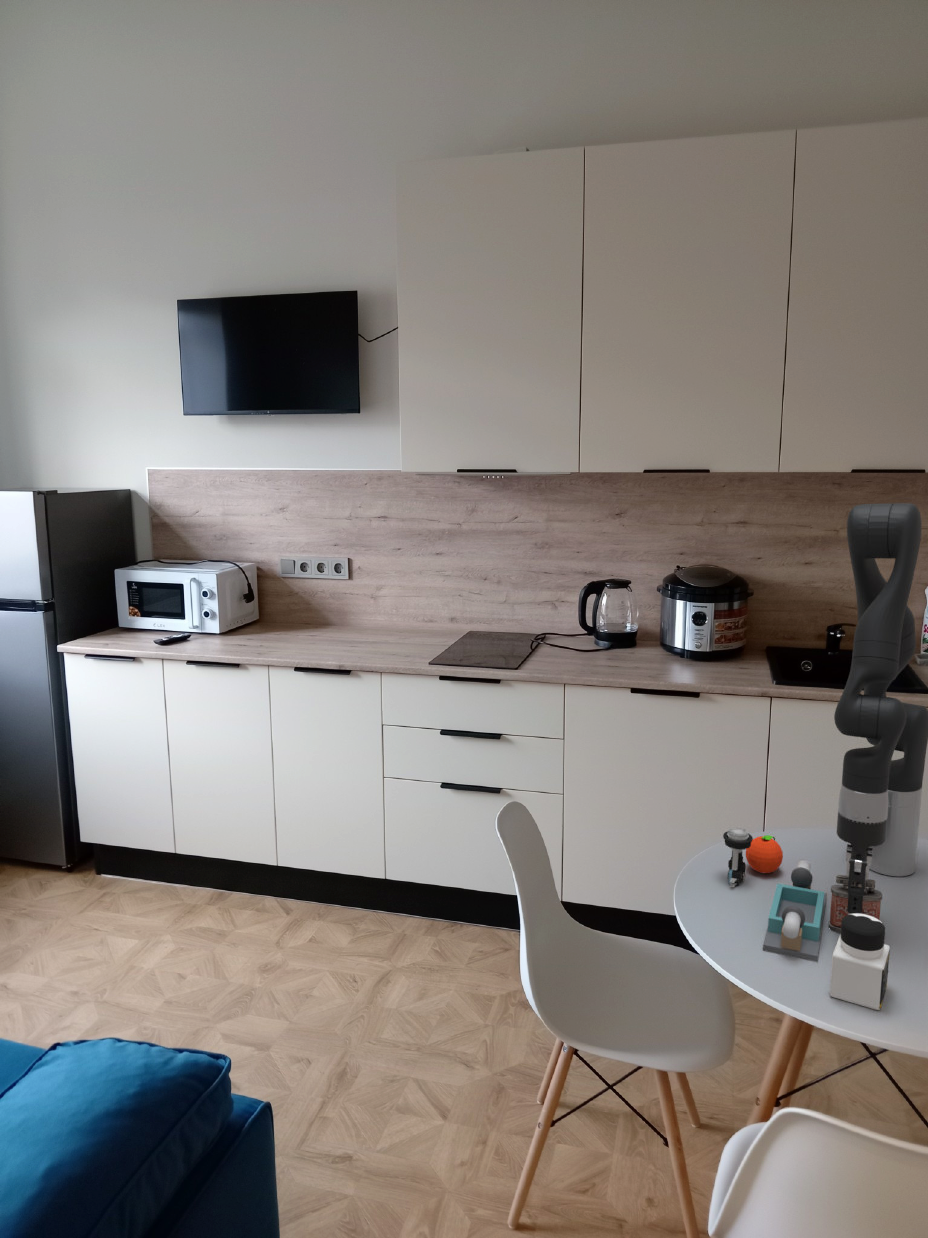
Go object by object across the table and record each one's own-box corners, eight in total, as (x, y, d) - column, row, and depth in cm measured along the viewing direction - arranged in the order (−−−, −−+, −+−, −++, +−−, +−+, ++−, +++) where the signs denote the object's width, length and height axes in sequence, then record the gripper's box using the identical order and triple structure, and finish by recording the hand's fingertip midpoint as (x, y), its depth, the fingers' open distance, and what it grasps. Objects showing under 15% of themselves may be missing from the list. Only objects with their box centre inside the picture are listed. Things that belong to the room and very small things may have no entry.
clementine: (757, 857, 181) (759, 824, 179) (790, 868, 176) (792, 834, 175) (738, 871, 175) (739, 838, 174) (772, 883, 171) (773, 848, 169)
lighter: (878, 929, 154) (882, 875, 152) (880, 939, 151) (884, 885, 149) (827, 922, 157) (831, 869, 155) (828, 932, 154) (832, 878, 152)
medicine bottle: (880, 1012, 132) (886, 938, 130) (828, 997, 136) (833, 925, 134) (887, 987, 138) (892, 915, 136) (837, 973, 142) (842, 903, 140)
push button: (745, 892, 167) (747, 842, 165) (716, 886, 170) (718, 837, 168) (753, 877, 173) (755, 829, 171) (725, 871, 176) (727, 823, 174)
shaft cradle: (778, 886, 169) (780, 853, 168) (826, 895, 166) (829, 861, 164) (761, 954, 148) (763, 916, 146) (816, 965, 144) (819, 927, 143)
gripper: (886, 832, 141) (878, 926, 144) (888, 800, 154) (880, 888, 157) (835, 824, 145) (828, 916, 148) (840, 793, 157) (834, 879, 160)
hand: (855, 902), depth 152 cm, fingers open, 8 cm apart
